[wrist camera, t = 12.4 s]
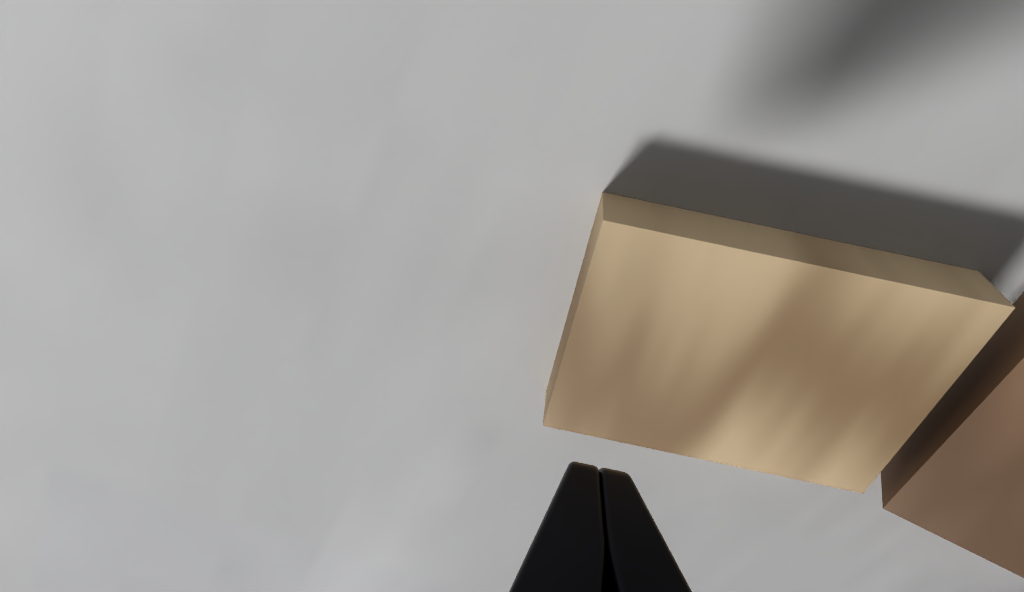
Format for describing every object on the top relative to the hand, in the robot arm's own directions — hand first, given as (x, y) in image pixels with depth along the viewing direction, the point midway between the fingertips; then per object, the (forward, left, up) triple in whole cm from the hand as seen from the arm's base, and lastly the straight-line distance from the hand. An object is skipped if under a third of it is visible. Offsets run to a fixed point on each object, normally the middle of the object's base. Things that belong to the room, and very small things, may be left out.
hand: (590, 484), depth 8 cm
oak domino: (0, 0, -4) cm, 4 cm away
